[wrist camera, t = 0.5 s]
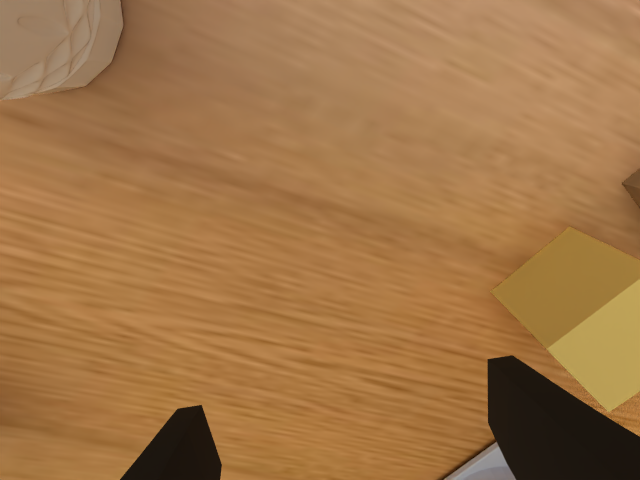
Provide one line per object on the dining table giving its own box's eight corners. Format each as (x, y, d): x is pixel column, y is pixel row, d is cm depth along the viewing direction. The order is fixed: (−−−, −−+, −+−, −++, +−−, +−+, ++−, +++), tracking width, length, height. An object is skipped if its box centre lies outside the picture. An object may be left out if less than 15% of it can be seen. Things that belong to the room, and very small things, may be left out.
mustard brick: (618, 286, 21) (711, 341, 16) (542, 344, 22) (608, 412, 17) (568, 225, 19) (654, 267, 15) (489, 291, 20) (546, 349, 16)
